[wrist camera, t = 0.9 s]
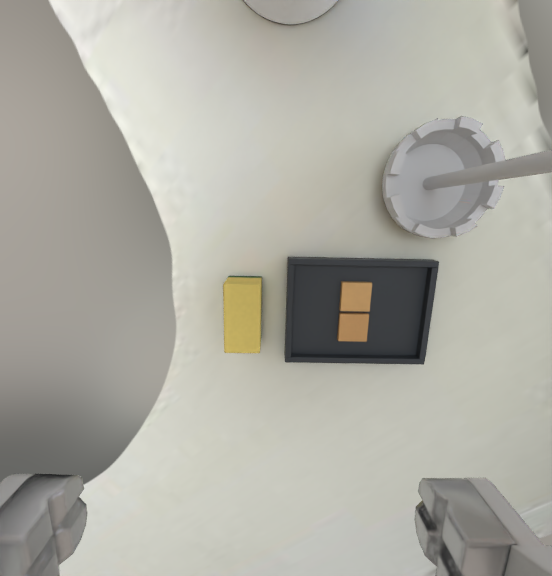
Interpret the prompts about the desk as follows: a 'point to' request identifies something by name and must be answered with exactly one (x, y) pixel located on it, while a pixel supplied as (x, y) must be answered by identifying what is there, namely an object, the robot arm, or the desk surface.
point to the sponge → (242, 314)
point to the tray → (382, 316)
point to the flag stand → (450, 177)
